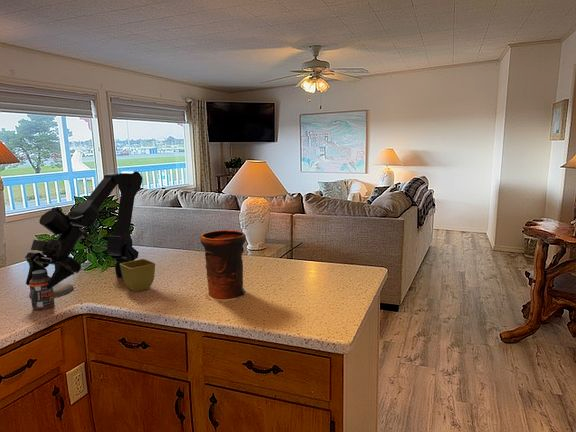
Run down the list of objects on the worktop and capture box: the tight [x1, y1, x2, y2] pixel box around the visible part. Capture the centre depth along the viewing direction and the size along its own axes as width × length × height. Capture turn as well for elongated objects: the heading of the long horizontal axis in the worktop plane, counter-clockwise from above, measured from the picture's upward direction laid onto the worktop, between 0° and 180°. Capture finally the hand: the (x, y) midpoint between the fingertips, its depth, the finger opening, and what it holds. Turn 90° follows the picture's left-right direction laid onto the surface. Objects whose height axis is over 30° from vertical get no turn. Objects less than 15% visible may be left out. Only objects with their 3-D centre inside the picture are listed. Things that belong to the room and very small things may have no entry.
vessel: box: [199, 229, 247, 302], centre depth 131 cm, size 14×14×20 cm
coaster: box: [28, 282, 74, 298], centre depth 137 cm, size 13×13×1 cm
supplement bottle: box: [28, 269, 55, 311], centre depth 124 cm, size 6×6×11 cm
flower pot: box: [120, 258, 156, 293], centre depth 138 cm, size 9×9×9 cm
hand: (37, 286), depth 122 cm, fingers open, 9 cm apart
